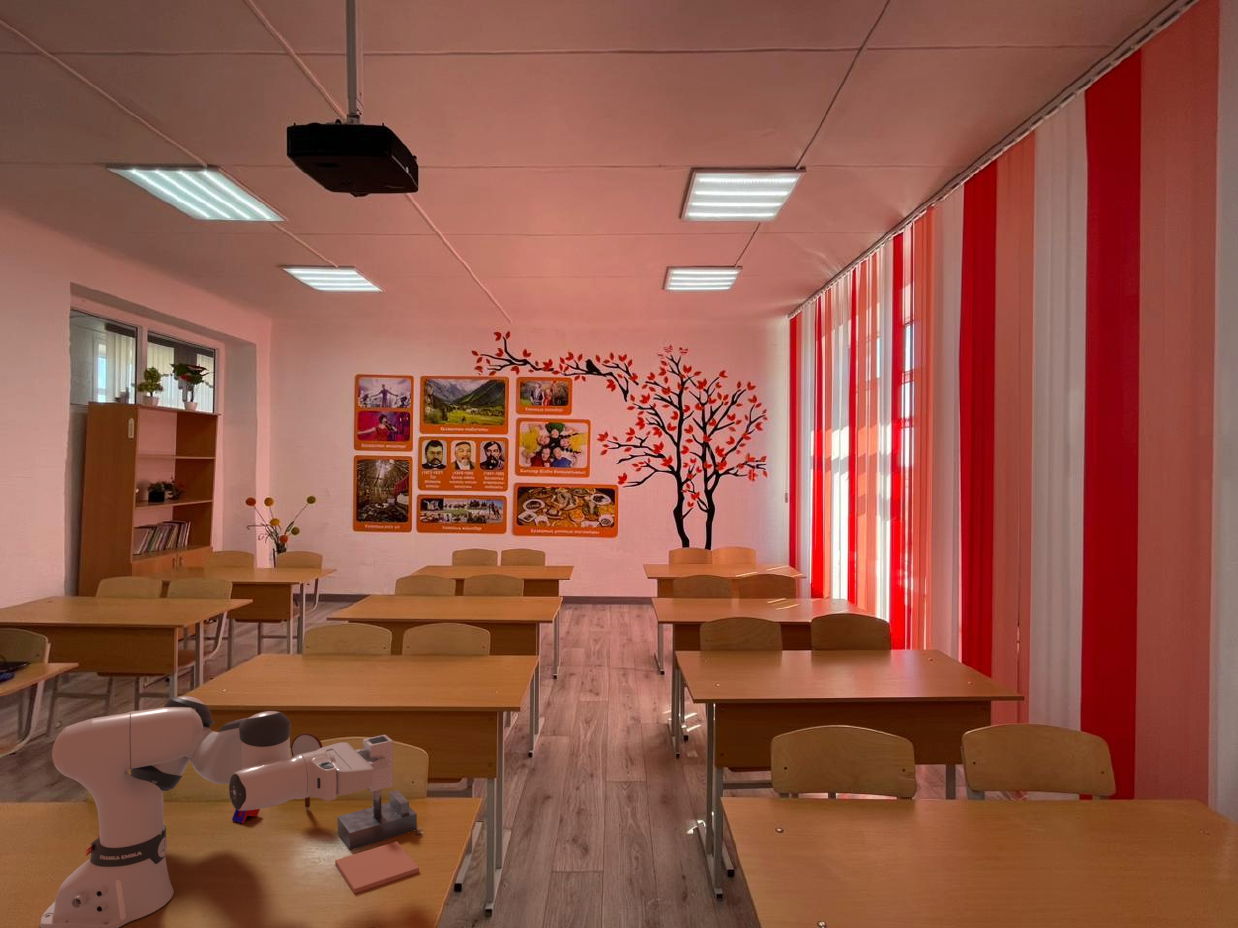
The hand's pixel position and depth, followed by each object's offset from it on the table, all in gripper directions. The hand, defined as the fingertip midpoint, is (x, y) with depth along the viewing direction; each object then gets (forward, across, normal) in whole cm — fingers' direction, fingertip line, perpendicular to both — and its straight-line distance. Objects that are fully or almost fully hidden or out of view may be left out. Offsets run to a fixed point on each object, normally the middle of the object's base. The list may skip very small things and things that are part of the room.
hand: (381, 756), depth 170 cm
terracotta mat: (-1, 0, -24) cm, 24 cm away
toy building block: (-20, -43, -24) cm, 53 cm away
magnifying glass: (-6, -38, -24) cm, 46 cm away
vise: (+4, -16, -24) cm, 30 cm away
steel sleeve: (-1, 0, -6) cm, 6 cm away
